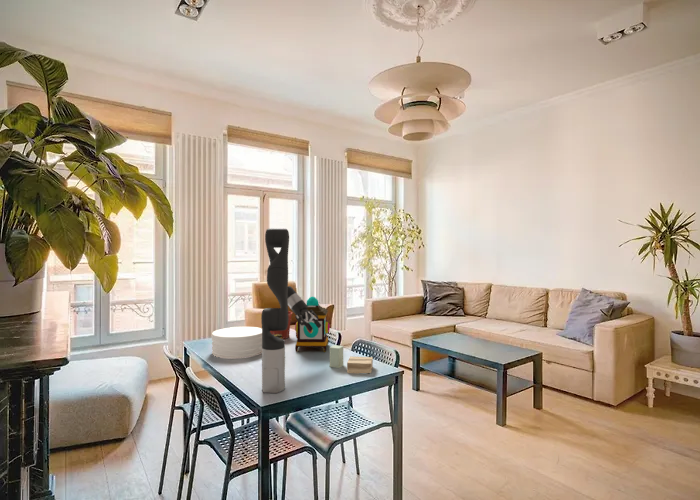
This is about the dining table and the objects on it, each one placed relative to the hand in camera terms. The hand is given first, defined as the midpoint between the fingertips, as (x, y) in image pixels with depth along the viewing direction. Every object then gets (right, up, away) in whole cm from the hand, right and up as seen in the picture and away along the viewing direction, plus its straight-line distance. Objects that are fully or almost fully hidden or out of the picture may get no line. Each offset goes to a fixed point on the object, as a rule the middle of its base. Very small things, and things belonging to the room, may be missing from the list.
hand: (315, 328), depth 200 cm
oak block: (+22, -18, -11) cm, 30 cm away
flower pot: (-28, -17, +57) cm, 66 cm away
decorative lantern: (-5, -18, +29) cm, 35 cm away
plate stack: (-45, -18, +22) cm, 53 cm away
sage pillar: (+10, -18, -5) cm, 21 cm away
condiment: (-22, -18, +10) cm, 30 cm away
